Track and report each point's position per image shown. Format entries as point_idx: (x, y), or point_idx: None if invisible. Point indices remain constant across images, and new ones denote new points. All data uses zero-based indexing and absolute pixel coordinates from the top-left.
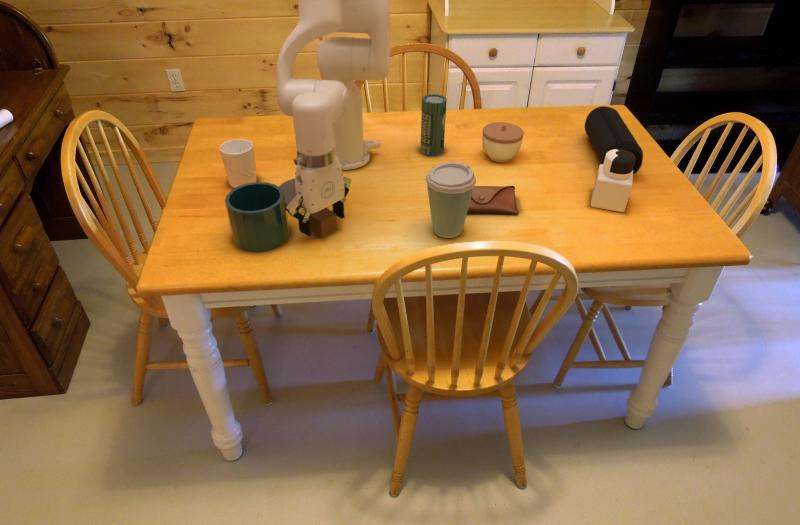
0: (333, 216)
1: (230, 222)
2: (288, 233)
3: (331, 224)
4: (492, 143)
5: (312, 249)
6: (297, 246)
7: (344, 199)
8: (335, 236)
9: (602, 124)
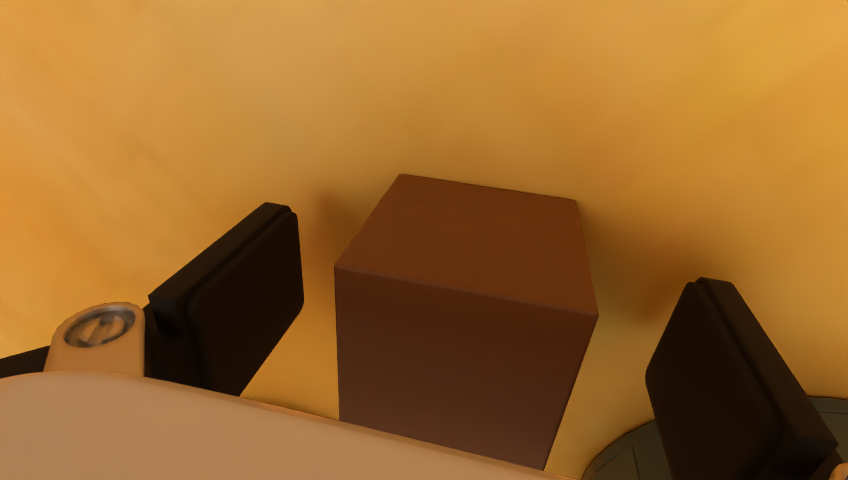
0: (383, 259)
1: None
2: None
3: (442, 221)
4: None
5: (794, 160)
6: (800, 294)
7: (89, 328)
8: (483, 119)
9: None
